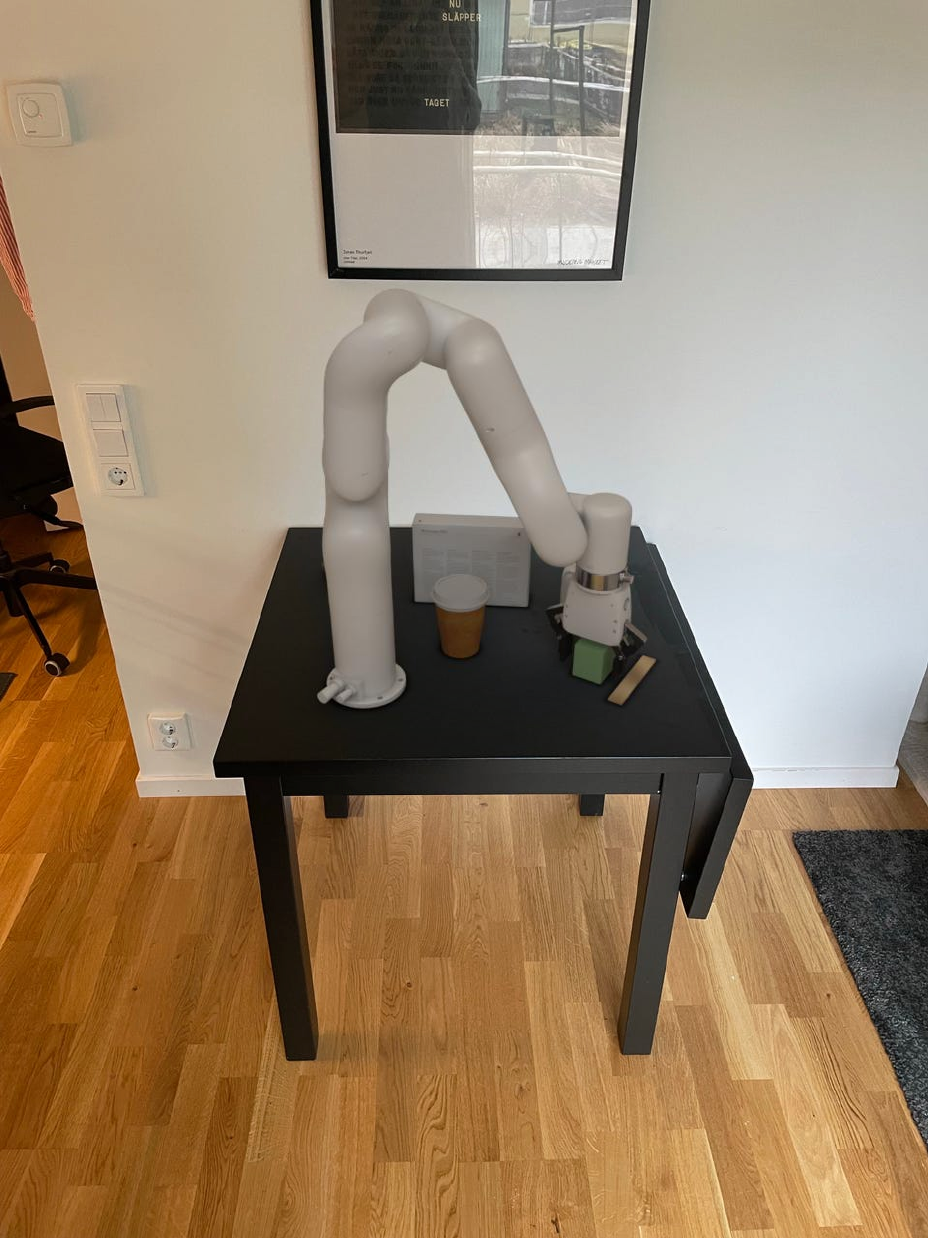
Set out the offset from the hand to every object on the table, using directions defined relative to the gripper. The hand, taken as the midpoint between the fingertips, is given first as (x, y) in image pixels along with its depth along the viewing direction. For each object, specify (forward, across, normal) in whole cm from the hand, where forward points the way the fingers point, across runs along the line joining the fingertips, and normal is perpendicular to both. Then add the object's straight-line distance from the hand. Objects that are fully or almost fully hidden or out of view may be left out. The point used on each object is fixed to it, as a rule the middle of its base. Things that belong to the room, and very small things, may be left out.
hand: (591, 665), depth 146 cm
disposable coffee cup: (+2, +22, +5) cm, 23 cm away
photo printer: (+2, +10, -15) cm, 18 cm away
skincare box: (+2, +29, -10) cm, 31 cm away
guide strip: (+2, -6, -2) cm, 7 cm away
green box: (+2, 0, -3) cm, 4 cm away
